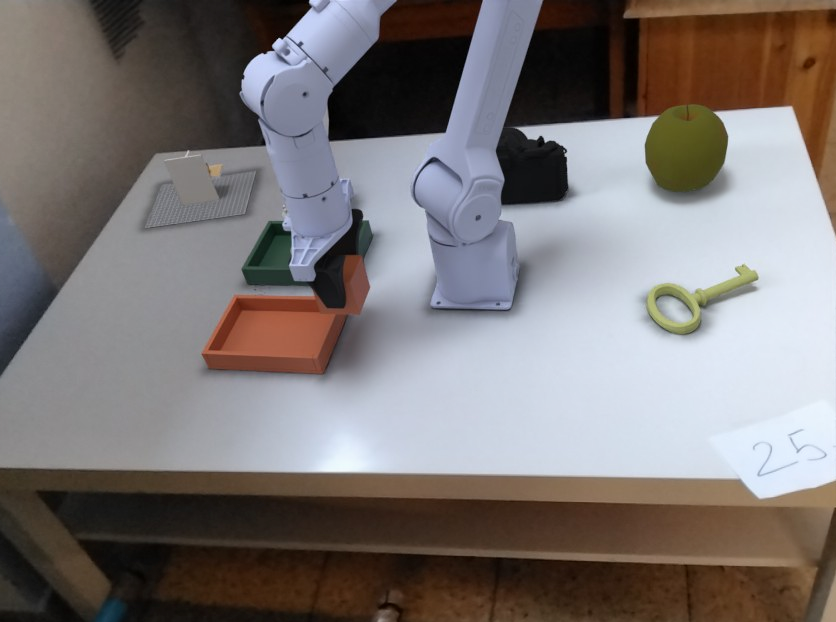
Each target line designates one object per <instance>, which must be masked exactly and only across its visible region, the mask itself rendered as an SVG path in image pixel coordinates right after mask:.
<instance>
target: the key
mask: <svg viewBox="0 0 836 622" xmlns="http://www.w3.org/2000/svg"><path fill="white" fill-rule="evenodd" d="M734 271H735V272H736V273H737V274H738V275H737V276H735V277H733V278H730V279H727V280H725V281H723V282H720V283H717V284H715V285H712V286H709V287H707V288H704V289H702V288H699V287H698V288H696V289H695V290H694V293H690V292H689V291H688V290H687V289H686V288H685V287H682V286H681V285H678V284H676V283H671V282H664V283H660V284H657V285H655V286H653V287H652V288H651V289H650V290H649V292H648V294H647V297H646V309H647V312H648V314H649V315H650V317H651V318H652V319H653V320H654V322H656V323H657V324H658V326H660V327H661V328H663V329H664V330H666V331H669V332H670V333H673V334H679V335H685V334H690V333H692V332H693V331H695V330H696V329H697V328H698V327H699V326H700V323H701V319H702V312H701V308H700V306H706V305H707V303H708V301H709V300H712V299H714V298H717V297H719V296H722V295H725V294H727V293H729V292H732V291H733V290H737V289H739V288H741V287H744V286H746V285H749V284H752V283H754V282H757V281H758V280H759V273H758V272H757V271H756V269H752V270H751V268H749V267H748V265H747V264H745V263H742V264H741V265H737V266H735V267H734ZM663 295H671V296H674V297H676V298H678V299H680V300H681V301H683V302H684V303H685V304H686V305H687V306H688V308H689V309H690V310H691V312H692V314H693V316H692V318H691V319H689V320H688V321H685V322H676V321H674V320H671V319H668V318H667V317H666V316H664V315H663V314H662V313H661V311H660V310H659V308H658V306H657V300H656V299H657V298H658V297H660V296H663ZM699 305H700V306H699Z"/></svg>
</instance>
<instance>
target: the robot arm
mask: <svg viewBox="0 0 836 622" xmlns="http://www.w3.org/2000/svg"><path fill="white" fill-rule="evenodd" d="M397 1H398V0H309V1H308V3H309V6H311V8H310V9H309V10H308V11H307V12H306V13H305V14H304V16H302V18H301V19H299V21H298V22H297V23H296V24H295V25H294V26H293V28H292V29H290V31H289V32H288V33H287V34H286V36H284V37H283V39H282V38H280V37H278V39H276V41H274V43H273V44H272V45H271V47H272V49H273V50H270V51H266V53H265V54H264V53H263V52H262V53H260V54H258V55H256V56H255V57H254V58H253V59H251V60H250V62H249V63H248V64H247V66H246V68H245V69H244V72H243V74H242V75H243V76H244V77H243V79H241V91H240V92H239V96H240V98H241V100H242V102H243V103H244V104H245V105H246V107H247V108H248V109H249V110H251V111H252V112H253V113H255V114H256V115H258V117H259V118H258V120H257V121H258V123H259V126H260V129H261V132H262V137H263V139H264V141H265V148H266V152H267V154H268V157H269V160H270V163H271V167H272V169H273V172H274V176H275V178H276V182H277V183H278V184H277V185H278V187H279V190H280V192H281V195H282V198H283V202H284V205H286V207H287V210H288V213H289V215H287V216H286V218H284V219H283V221H284V222H283V223H282V226H283V229H284V230H285V231H291V233H292V255H291V257H290V259H289V262H288V265H289V268H290V270H291V273H292V276H293V279H294V281H305V282H306V283H307V284H308V285H307V286H309V287H310V288H311V289H313V290H314V291H315V293H316V294H317V295H318V297H319V298H320V299H321V301H322V302H323V304H324V305H325V306H326V308H339V309H343V308H344V307H345V305H346V294H345V287H344V281H343V268H344V262H345V258H346V255H359V253H358V245H359V234H360V228H361V223H362V220H364V212H363V210H362V209H359V208H352V203H351V199H352V198H353V197H354V194H355V192H354V188H353V185H352V180H351V178H340V175H339V173H338V168H337V165H336V161H335V157H334V153H333V151H332V146H331V143H330V139H329V135H328V136H327V132H326V130H325V128H324V124H323V121H322V119H323V117H324V115H325V112H326V108H328V101H329V100H328V99H329V97H330V95H331V94H332V93H333V91H334V90H333V89H334V87H335V86H336V85H337V84H338V83H339V82H340V81H341V80H342V79H343V78H344V77H345V76H346V75H347V73H349V71H350V70H351V69H352V68H353V67H354V66H355V65H356V64H357V62H358V61H360V59H361V58H362V57H363V56H364V55H365V54H366V53H367V51H369V49H370V48H371V47H373V45H374V44H375V43H376V42H377V41H378V40H379V37H380V22H381V16H382V15H383V14H384V13H385V12H387V11H388V10H389V9H390V7H392V6H393V5H394V4H395V3H396V2H397ZM543 1H544V0H482V3H481V6H480V9H479V13H478V16H477V19H476V24H475V27H474V30H473V34H472V38H471V40H470V41H471V42H470V45H469V49H468V51H467V56H466V60H465V63H464V65H463V66H464V67H463V69H462V70H463V71H462V74H461V77H460V81H459V85H458V88H457V92H456V95H455V98H454V102H453V106H452V110H451V113H450V117H449V121H448V124H447V126H446V127H447V128H446V131H445V134H444V135H442V136H441V137H439V138H438V139H436V140H434V141H432V142H430V143H429V144H428V147H427V150H426V154H425V156H424V158H423V160H422V162H421V163H420V164H419V166H418V167H417V169H416V171H415V172H414V174H413V176H412V178H411V181H410V194H411V197H412V200H413V201H414V203H415V204H416V205H417V206H418V207H419V208H421V209H423V210H424V213H425V217H426V230H427V235H428V240H429V245H430V249H431V254H432V259H433V265H434V269H435V275H436V280H437V281H436V283H435V288H434V291H433V293H432V296H431V299H430V303H429V305H430V307H431V309H432V308H433V309H458V310H459V309H463V310H464V309H465V310H503V311H505V310H510V309H511V308H512V305H513V301H514V295H515V291H516V287H517V282H518V279H519V273H520V269H521V266H520V265H521V264H520V263H519V258H518V249H517V248H518V247H517V238H516V232H515V231H516V230H515V225H514V223H513V222H512V221H510V220H509V221H508V220H502V219H500V218H501V215H502V206H503V205H501V191H502V187H503V184H504V176H503V173H502V170H501V167H500V164H499V161H498V158H497V155H496V147H497V144H498V141H499V138H500V135H501V132H502V128H504V124H505V122H506V119H507V115H508V112H509V109H510V106H511V104H512V99H513V97H514V93H515V91H516V87H517V84H518V80H519V77H520V75H521V71H522V67H523V65H524V62H525V59H526V55H527V52H528V48H529V46H530V42H531V41H532V40H531V39H532V37H533V33H534V30H535V27H536V24H537V21H538V18H539V14H540V12H541V7H542V5H543ZM313 290H312V291H313Z"/></svg>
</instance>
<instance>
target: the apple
mask: <svg viewBox="0 0 836 622" xmlns="http://www.w3.org/2000/svg"><path fill="white" fill-rule="evenodd" d="M728 147H729V133H728V131H727V129H726V125H725V123H724V121H723V120H722V119H721V118H720V117H719V115H717V113H715V112H714V111H713V110H711V109H710V108H708V107H707V106H705V105H701V104H697V103H696V104H694V103H693V104H692V103H691V104H682V105H675V106H672V107H669V108H667V109H665V110H664V111H663V112H662V113H661V114H660V115H658V116H657V118H655V120H654V121H653V122H652V124H651V126H650V128H649V130H648V134H647V135H646V137H645V142H644V158H645V159H644V160H645V165H646V167H647V168H648V171H649V173H650V175H651V177H652V179H653V181H654V183H655V184H656V186H657V187H659V188H661V189H662V190H664V191H667V192H668V191H669V192H674V193H682V192H683V193H685V192H692V191H697V190H701V189H703V188H704V187H705V188H706V187H707V186H709V185H710V184H711V183H712V182H713V181H714V180H715V178H716V177H717V175H718V174H719V172H720V171H721V169H722V168H723V166H724V164H725V162H726V156H727V151H728Z"/></svg>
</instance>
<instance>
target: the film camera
mask: <svg viewBox="0 0 836 622" xmlns="http://www.w3.org/2000/svg"><path fill="white" fill-rule="evenodd" d="M567 153H568V149H567V147H564V145H561V144H560V143H559V142H557V141H556V140H547V141H545V137H544V136H543V135H538V138H537V139H533V138H528V137H527V135H526V134H525V132H524V131H522V130H520V129H519V128H517V127H513V126H510V127H509V126H506V127H503V128H502V132H501V135H500V138H499V141H498V144H497V147H496V155H497V158H498V161H499V164H500V167H501V170H502V173H503V176H504V184H503V187H502V191H501V206H504V205H505V206H507V205H508V206H509V205H526V204H538V203H551V202H559V201H561V200H563V199H564V198H565V197H566V195H567V192H568V191H569V176H568V175H569V174H568V156H565V154H567Z"/></svg>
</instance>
